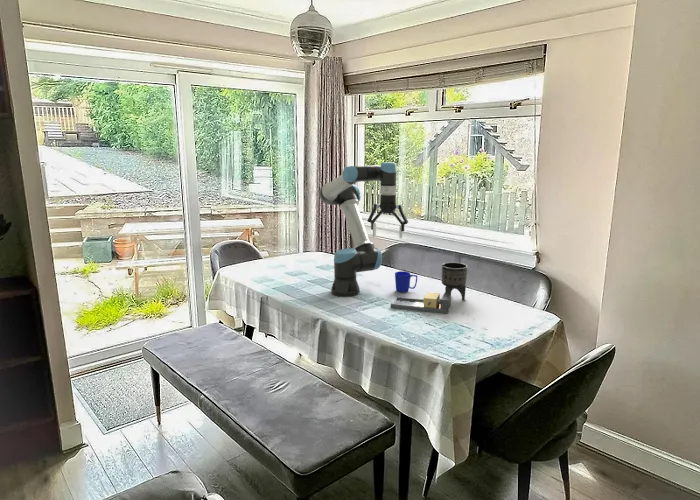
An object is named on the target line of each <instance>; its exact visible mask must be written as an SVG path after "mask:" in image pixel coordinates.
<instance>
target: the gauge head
mask: <svg viewBox="0 0 700 500" xmlns="http://www.w3.org/2000/svg"><path fill="white" fill-rule="evenodd" d="M440 294H441V293H440V292H431V291H429V292H428V291H427V292H426V294H425V295H424V297H423V299H424V304H423V307H429V308H437V307H438V305H439V304H440V303H441V297H440V296H441V295H440Z"/></svg>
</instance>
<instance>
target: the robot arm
mask: <svg viewBox="0 0 700 500" xmlns="http://www.w3.org/2000/svg"><path fill="white" fill-rule="evenodd" d="M376 181H377V182H380V191H379V192H380V195H379V198H380V199H379V201H380V202H379V203H373V208H372V209H371V212H370V215H369V216H368V219H367V222H368V223H370V229H371V230H372V237H373V238H374V237H377V222H376V221H377V220H378V219H379V218H380V216H381V215H383V214H392V215H393V216H394V217H395V219H396V220H397V221H398V222H399V224H400V225H399V239H402V238H403V232H405V225H408V223H409V220H408V218H407V216H406V214H405V212H404V210H403V205H402V204H396V202H397V201H396V199H397V198H396V197H397V195H396V194H397V164H396V162H393V161H383V162H381V163H380V165H377V164H373V165H349V166H345V167H344V168H343V170H342V173H341V175H338V177H336V178H335V179H333V180H331V182H327V183H324V184H323V185H322V186H321V187H320V189H319V193H318V195H319V198H320V200H321V202H323V203H325V204H326V205H330V206H337V205H338V208H339V210H341V211H343V214H344V217H345V221H346V223H347V226H348V230H349V233H350V236H351V239H352V242H353V245H354V248H351V247H349V248H347V247H346V248H341V249H338V250H336V252H335V253H334V255H333V257H334V258H333V263H334V265H333V267H334V268H333V269H334V273H333V274H334V275H333V276H334V279H333V283H332V286H331V289H330V290H331V292H330V293H331V294H332V295H333V296H336V297H345V298H347V297H349V298H350V297H354V296H358V295H359V294H360V285H359V282H358V279H357V273H361V272H362V273H364V272H370V271H375V270H378V269H379V268H380V267H381V265H382V263H383V262H382V261H383V254H382V251H381V248H378V247H375V244H374V243H373V242H371V241H370V238H369V234H368V232H367V229H366V227H365V223H364V221H363V218H362V214H361V213H360V209H359V203H360V201H361V192H360V188H359V187H358V186H357V185H356V183H358V182H376ZM377 209H380V210H379V212H378V213H377V214H376V215H375V213H376V211H377ZM396 209H397V210H398V211H399V214H400V215H399V214H398V212H397V211H396Z"/></svg>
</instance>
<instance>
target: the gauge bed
mask: <svg viewBox="0 0 700 500" xmlns="http://www.w3.org/2000/svg"><path fill="white" fill-rule="evenodd" d="M423 304H424V298H415V297H405V296H404V297H403V296H396V299H395V301H394V302H393V303H390V309H396V310H404V311H413V312H419V313H421V312H423V313H429V314H430V313H431V314H439V315H440V314H441V315H448V313H449V311H450V308H451V307H452V306H451V305H452V304H451V305H450V307H449V309H448V311H447V310H446V311H445V310H443V311H442V309H441V303H440V304H439V305H438V307H437V308H429V307H423ZM440 310H441V311H442V312H441V311H440Z"/></svg>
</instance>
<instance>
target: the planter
mask: <svg viewBox="0 0 700 500" xmlns="http://www.w3.org/2000/svg"><path fill="white" fill-rule="evenodd" d="M468 268H469V267H468V265H467V264H465V263H461V262H453V261H451V262H445V263H442V264H441V284H442V286H445V289H444V290H445V291H444V293H445V292H449V293H451V294H452V291H453V290H454V289H455V290H457V292H459V293H460V295H461V301H465V299H466V289H467V288H466V287H467V279H468V278H467V277H468Z"/></svg>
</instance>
